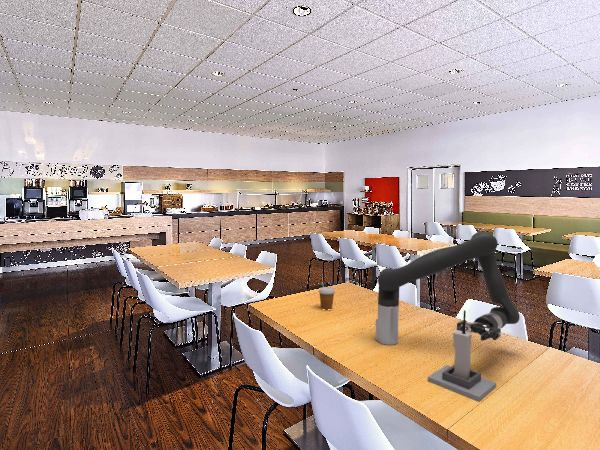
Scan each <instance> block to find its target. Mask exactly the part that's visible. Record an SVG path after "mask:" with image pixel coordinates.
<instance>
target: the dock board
mask: <svg viewBox="0 0 600 450" xmlns="http://www.w3.org/2000/svg"><path fill="white" fill-rule="evenodd" d="M454 368H455V363H453V365H447V364H446V365H444V366H443V367H441V368H439V369H438V370H436V371H435V372H433V373H432V374H430V375H428V376H427V381H428V382H430V383H432V384H435V385H437V386H440V387H442V388H444V389H447V390H450V391H451V392H455V393H458V394H460V395H462V396H465V397H466V398H469V399H472V400H475V401H478V402H481V400H483V399H484V398H485V397H487V395H488V394H490V393H491V392H492V391H493V390H495V388H497V382H495V381H492V380H489V379H487V378H484V377H482V373H481V372H478V371H475V370H473V369H470V377H469V380H466V379H463V378H460V377H458V376H455V375H452V374H453V372H454Z"/></svg>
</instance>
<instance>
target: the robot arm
mask: <svg viewBox="0 0 600 450" xmlns="http://www.w3.org/2000/svg"><path fill="white" fill-rule="evenodd" d="M498 245H499V243H498V239H497V238H496V237H495V236H494V235H493V234H491V233H489V232H486V231H478V232H475V233H474V234H473V235H472V236H471V238H470V239H468V240H466V241H464V242H461V243H459V244H457V245H451V246H447V247H442V248H438V249H436V250H433V251H430V252H427V253H426V254H422V255H420V256H419V257H417V258H415V259H414V260H412V261H410V262H409V263H407V264H405V265H403V266H401V267H398V268H392V267H387V268H383V269H382V270H381V271H380V273H379V275H378V279H377V283H378V292H377V293H378V296H377V318H376V319H375V336H374V337H375V339H374V340H376V341H377V342H378V343H379V344H382V345H388V346H392V345H396V344H398V343H399V320H400V319H399V316H400V315H399V314H400V313H399V312H400V310H399V309H400V287H403V286H404V285H406V284H409V283H411V282H414V281H416V280H420V279H424V278H427V277H430V276H433V275H435V274H438V273H440V272H441V273H442V272H443V271H446V270H448V269H451V268H453V267H455V266H458V265H459V264H462V263H464V262H466V261H470V260H473V259H476V258H477V260H478V262H479V265H480V267H481V271H482V274H483V278H484V282H485V286H486V290H487V293H488V297H489V299H490V301H491V302H492V303H495V304H499V305H501V306H496V307H495V306H494V307H492V308H491V309H490V311H489V312H488V313H487V312H486V313H484V314H482V315H480V316H479V317H476V318H475V320H474V321H473V322H467V320H466V319H465V332H467V333H471V334H478V335H480V341H487V340H491V339H492V340H493V341H497V340H498V339H499V338H500V337H502V336H501V335H502V328H504V327H505V326H506V325H515V324H518V322H520V313H519V310H518V309H517V306H516V305H515V304H514V303H513V300H512V299H511V297H510V296H509V293H508V289H507V286H506V284H505V280H504V278H503V275H502V273H501V271H500V269H499V265H498V264H497V260H496V258H495V257H496V256H495V251H496V249H497V248H498ZM456 330H459V331H463V320H462V321H459V322H457V323H456Z"/></svg>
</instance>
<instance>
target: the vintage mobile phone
mask: <svg viewBox="0 0 600 450" xmlns="http://www.w3.org/2000/svg"><path fill="white" fill-rule="evenodd" d="M462 318H463V320H462V321H463V331H459V330H457V329H456V330H454V332H452V336H453V339H452V340H453V341H452V342H453V347H454V364H455V368H454V372H453V374H452V375H455V376H458V377H460V378H463V379H466V380H469V377H470V370H471V354H472V353H471V352H472V351H471V350H472V349H471V348H472V346H471V345H472V333H468V332H465V329H466V328H465V320H466V310H463V317H462Z"/></svg>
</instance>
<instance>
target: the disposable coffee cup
mask: <svg viewBox="0 0 600 450" xmlns="http://www.w3.org/2000/svg"><path fill="white" fill-rule="evenodd" d="M335 292H336V291H335V288H333V287H331V286H326V287H325V286H324V287H319V290H318V293H319V301H320V308H322V309H325V310H328V309H332V310H333V306H334V305H333V304H334V298H335V297H334V296H335ZM322 309H321V310H322ZM325 310H324V311H325Z"/></svg>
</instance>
